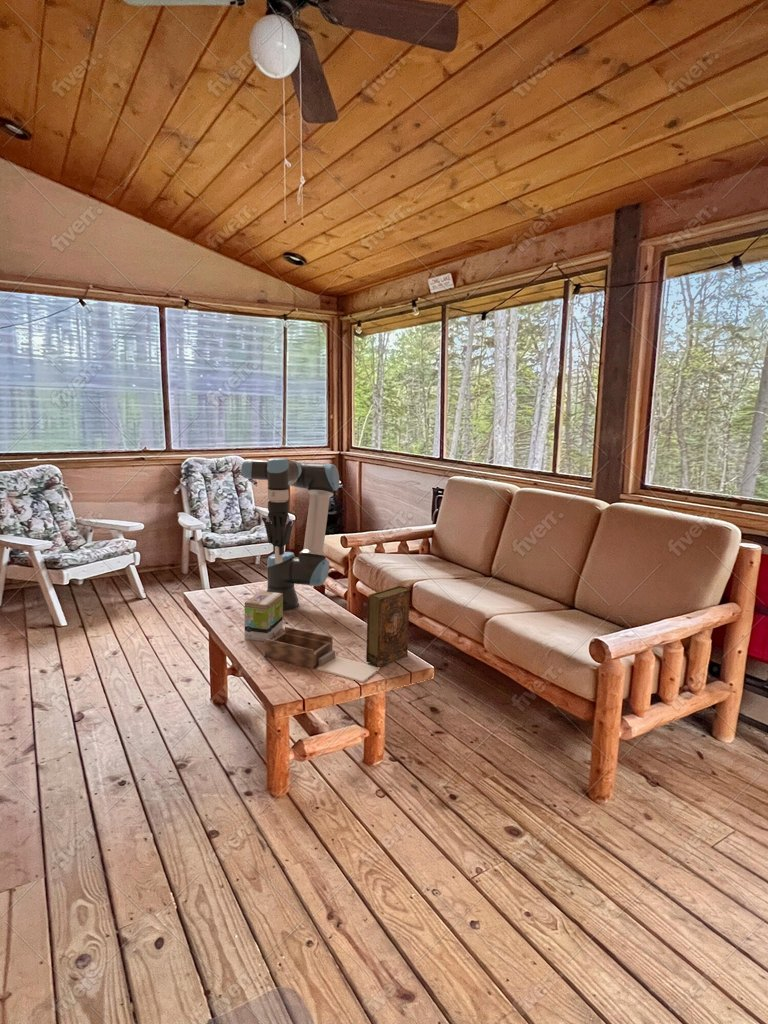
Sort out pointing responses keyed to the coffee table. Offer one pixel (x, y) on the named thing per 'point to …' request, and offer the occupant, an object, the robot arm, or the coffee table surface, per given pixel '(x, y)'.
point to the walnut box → (298, 647)
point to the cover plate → (345, 667)
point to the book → (387, 625)
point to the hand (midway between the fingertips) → (278, 562)
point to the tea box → (263, 615)
